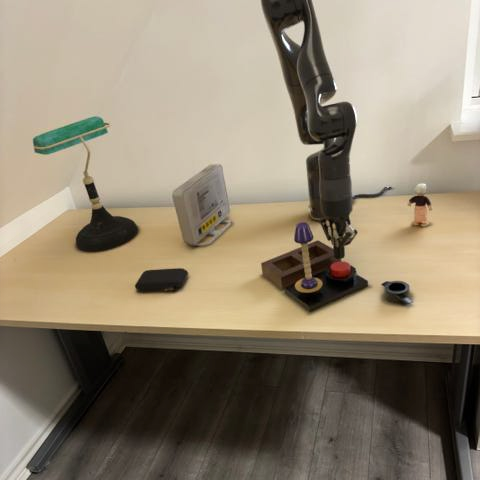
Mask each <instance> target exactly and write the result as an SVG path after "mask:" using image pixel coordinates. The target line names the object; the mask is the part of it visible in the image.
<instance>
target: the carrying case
mask: <svg viewBox="0 0 480 480" xmlns="http://www.w3.org/2000/svg"><path fill="white" fill-rule="evenodd" d="M188 275H189V272H188V271H187V270H186V269H185V268H182V267H180V268H177V267H176V268H160V269H147V270H144V271H143V272H142V274H141V275H140V277H139V278H138V279H137V281H136V283H135V285H134V288H135V289H136V291H138V292H160V291H161V292H163V291H164V292H169V291H177V290H180V289H181V288H182V287H183V285H184V283H185V282H186V279H187V277H188Z"/></svg>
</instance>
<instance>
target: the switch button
mask: <svg viewBox="0 0 480 480" xmlns="http://www.w3.org/2000/svg"><path fill="white" fill-rule="evenodd" d="M350 265H351V264H350V263H349V262H347V261H343V260H341V262H335V263H333V264H332V265H331V275H332V276H334V277H345V276H348V275H349V274H350Z"/></svg>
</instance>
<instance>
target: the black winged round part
mask: <svg viewBox="0 0 480 480" xmlns="http://www.w3.org/2000/svg"><path fill="white" fill-rule="evenodd" d="M380 285H381V286H382V287H384V300H385V301H387V303H391V304H404V303H406V304H412V303H414V301H413V300H412V299H411V298H410V284H409V283H407V282H406V281H402V280H393V281H392V280H391V281H388V280H387V281H384V282H382V283H381V284H380Z"/></svg>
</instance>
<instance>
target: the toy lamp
mask: <svg viewBox="0 0 480 480" xmlns="http://www.w3.org/2000/svg"><path fill="white" fill-rule="evenodd" d="M314 238H315V237H314V234H313V232H312V229H311V227H310V224H309V223H308V222H306V221H301V222H298V223H296V224H295V229H294V237H293V240H294V243H296V244H298V245H299V244H300V247H301V250H302V256H303V262H304V268H305V269H304V271H305V277H306V278H304V279H303V280H302V282H301V287H302V288H304V289H312V288H314V287H316V286H317V285H318V282H317V280H316V279H315V278H313V277H312V274H311V268H310V267H311V264H310V258H309V252H308V246H307V245H308V244H310V243H312V242H313V240H314Z"/></svg>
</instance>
